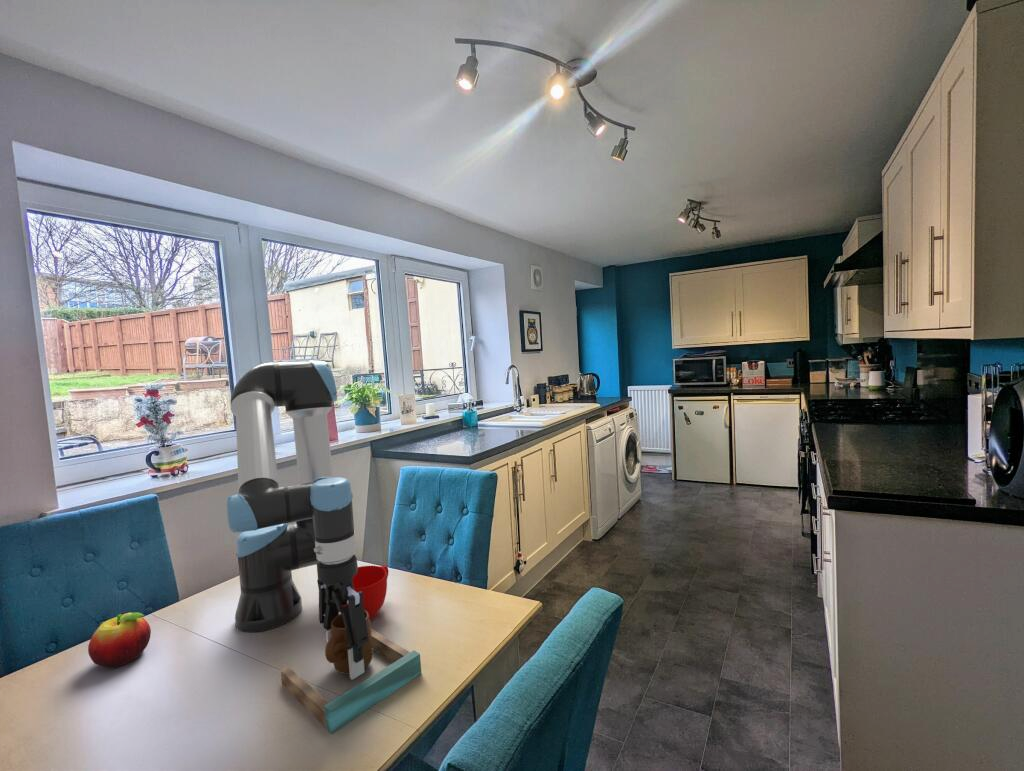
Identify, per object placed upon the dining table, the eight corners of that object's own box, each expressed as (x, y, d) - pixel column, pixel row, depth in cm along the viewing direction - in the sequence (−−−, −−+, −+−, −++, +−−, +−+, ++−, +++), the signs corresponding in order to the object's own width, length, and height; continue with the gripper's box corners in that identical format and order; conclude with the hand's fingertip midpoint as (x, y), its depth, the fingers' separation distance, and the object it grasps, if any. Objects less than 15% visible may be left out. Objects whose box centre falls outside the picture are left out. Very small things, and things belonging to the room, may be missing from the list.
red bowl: (409, 598, 124) (406, 562, 123) (366, 635, 108) (363, 593, 108) (369, 592, 129) (366, 556, 128) (323, 626, 113) (320, 586, 113)
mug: (348, 692, 87) (344, 644, 87) (312, 689, 89) (308, 641, 88) (379, 652, 99) (376, 609, 98) (347, 650, 101) (343, 607, 100)
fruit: (114, 647, 110) (110, 606, 109) (164, 642, 111) (159, 601, 110) (76, 678, 99) (71, 632, 98) (131, 672, 100) (126, 627, 99)
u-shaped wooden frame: (281, 684, 93) (280, 665, 93) (366, 638, 107) (365, 621, 107) (331, 733, 80) (329, 711, 79) (421, 672, 94) (419, 653, 94)
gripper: (294, 551, 97) (304, 657, 99) (346, 578, 84) (356, 700, 85) (329, 539, 103) (337, 639, 104) (382, 562, 89) (391, 677, 91)
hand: (346, 666), depth 95 cm, fingers closed on mug, 8 cm apart
